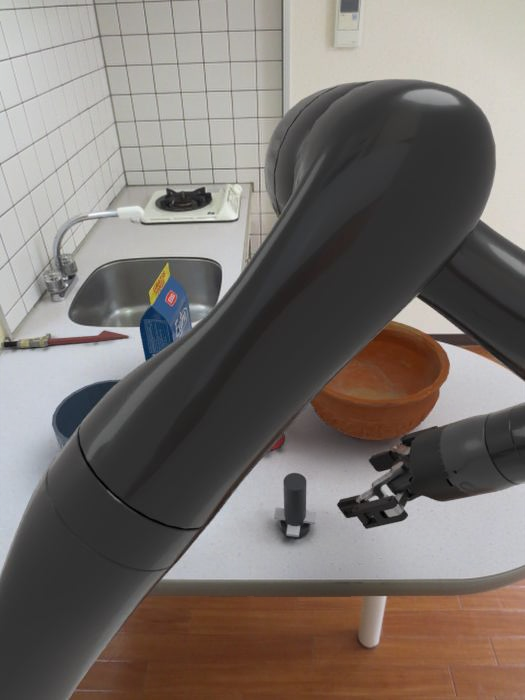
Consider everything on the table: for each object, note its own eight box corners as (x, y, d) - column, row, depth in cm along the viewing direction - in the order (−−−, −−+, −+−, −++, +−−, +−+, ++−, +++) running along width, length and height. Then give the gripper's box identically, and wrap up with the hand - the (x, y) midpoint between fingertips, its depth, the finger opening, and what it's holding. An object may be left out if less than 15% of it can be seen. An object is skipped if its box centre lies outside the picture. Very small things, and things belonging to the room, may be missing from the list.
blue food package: (198, 369, 112) (184, 262, 98) (184, 406, 103) (166, 293, 89) (170, 368, 113) (152, 261, 99) (153, 404, 103) (130, 292, 89)
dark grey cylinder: (313, 546, 76) (314, 500, 70) (272, 541, 77) (270, 495, 71) (316, 512, 81) (318, 467, 75) (278, 508, 82) (276, 463, 76)
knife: (7, 340, 125) (0, 350, 121) (5, 334, 124) (-2, 344, 120) (131, 332, 128) (128, 341, 124) (130, 325, 127) (127, 335, 123)
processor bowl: (119, 508, 83) (104, 459, 76) (48, 472, 90) (30, 424, 83) (181, 443, 94) (173, 396, 88) (114, 415, 101) (102, 370, 95)
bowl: (458, 411, 98) (473, 345, 90) (394, 495, 83) (405, 424, 74) (345, 365, 112) (349, 304, 103) (272, 430, 96) (269, 363, 88)
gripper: (468, 391, 58) (365, 429, 70) (419, 473, 49) (311, 500, 61) (507, 444, 58) (399, 473, 70) (467, 536, 49) (349, 550, 61)
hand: (358, 485), depth 66 cm, fingers open, 8 cm apart
